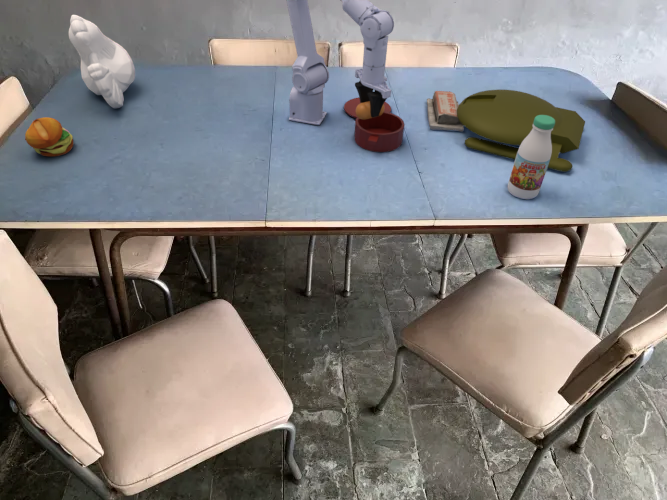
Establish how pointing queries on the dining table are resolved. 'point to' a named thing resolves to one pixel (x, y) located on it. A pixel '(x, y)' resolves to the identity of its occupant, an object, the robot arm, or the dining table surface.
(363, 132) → the pot
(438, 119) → the packaged product
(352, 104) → the pot lid
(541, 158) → the milk bottle
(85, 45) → the white rounded figure
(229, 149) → the dining table surface
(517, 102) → the spaceship
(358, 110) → the bread roll
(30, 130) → the cheeseburger
